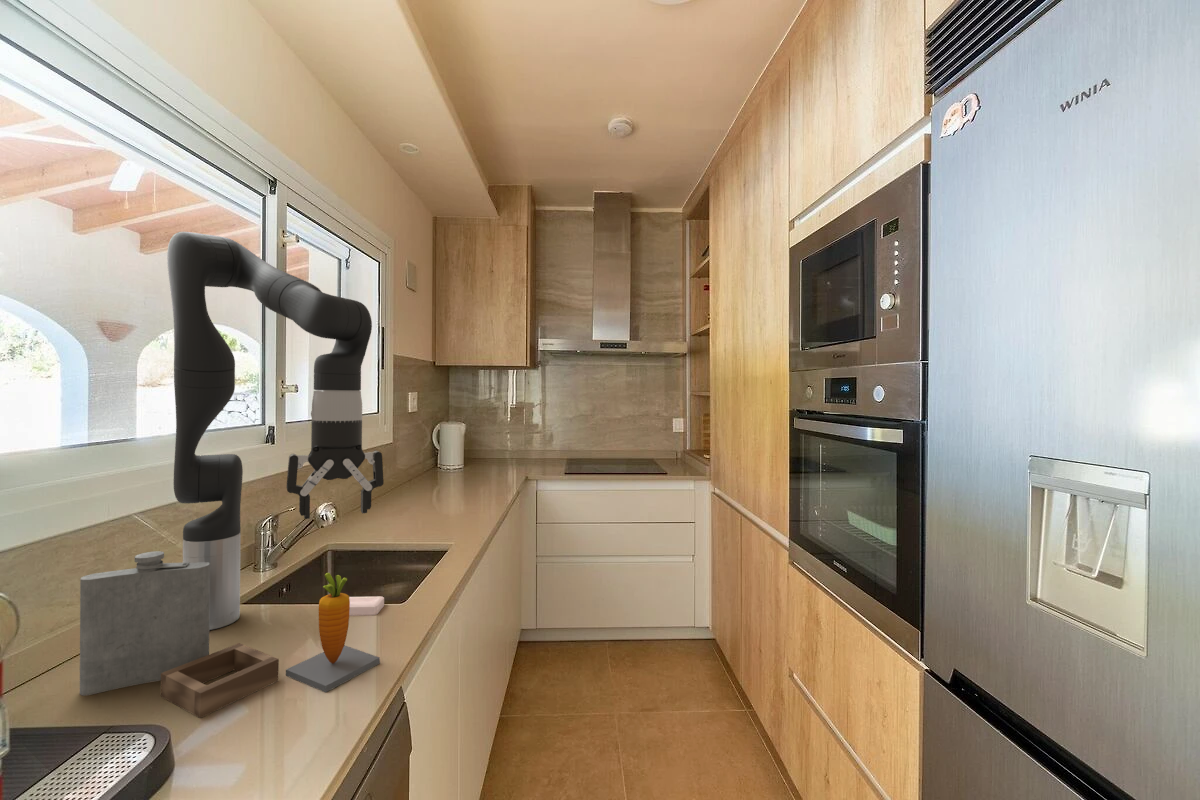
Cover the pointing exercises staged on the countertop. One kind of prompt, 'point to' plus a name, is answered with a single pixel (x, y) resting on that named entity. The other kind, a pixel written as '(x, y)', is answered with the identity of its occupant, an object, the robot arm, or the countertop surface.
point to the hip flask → (142, 622)
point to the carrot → (333, 618)
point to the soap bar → (365, 605)
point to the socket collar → (204, 699)
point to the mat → (332, 668)
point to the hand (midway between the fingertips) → (336, 515)
